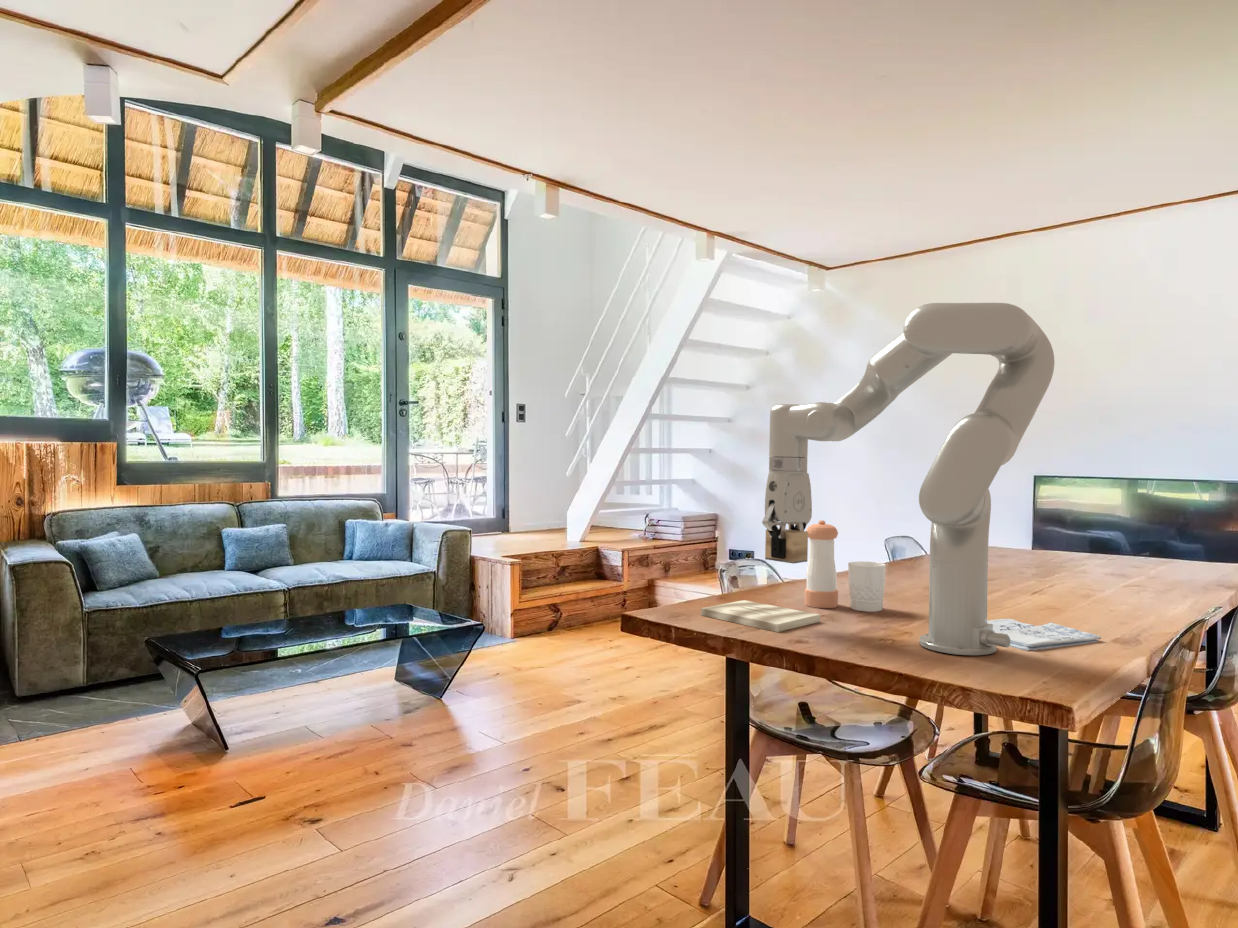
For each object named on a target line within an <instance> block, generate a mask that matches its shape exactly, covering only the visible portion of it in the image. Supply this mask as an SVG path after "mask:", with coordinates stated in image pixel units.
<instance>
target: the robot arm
mask: <svg viewBox="0 0 1238 928" xmlns="http://www.w3.org/2000/svg"><path fill="white" fill-rule="evenodd" d="M952 354H958V355H959V354H962V355H963V354H964V355H965V354H967V355H968V354H969V355H988V356H989V355H991V356H992V357H994V358H996V359H997V361H998V369H997V371H996V374H995V375H994V377H993V379H992V380H991V382H990V384H989V385H988V387H987V389H986V391H985V394H984V395H983V397H982V399H981V401H980V402H979V405H978V406H977V408H976V410H975V411H974V413H970V414H968V415H965V416H964V417H962V418H961V419H960V420H958V421H957V422H956V423H955V424H954V426H953V427H952V429H951V430H950V431H949V433H948V434H947V436H946V438H945V440H944V442H943V444H942V445H941V446H940V449H939V451H938V454H937V455H936V456H935V459H934V461H933V463H932V465H931V467H930V469H929V470H928V471H927V474H926V476H925V478H924V480H923V481H922V484H921V486H920V489H919V493H918V504H919V508H920V510H921V512H922V514H923V515H924V517H925V518H926V519H927V520H929V521H930V522H931V524H930V525H931V527H930V539H929V564H928V565H929V566H928V567H929V572H928V573H929V574H928V575H929V576H928V578H929V580H928V582H929V583H928V584H929V585H928V586H929V587H928V588H929V589H928V633H925V634H922V635H920V636H919V638H918V639H919V644H920V645H921V646H922V647H923V648H925V649H928V650H931V651H935V652H939V653H944V654H949V655H950V654H951V655H958V656H959V655H960V656H987V655H991V654H994V653H996V652H997V649H998V648H997V647H1002V648H1007V649H1008V648H1009V647H1010V637H1009V636H1008V635H1007V634H1002V633H995V632H994V631H993V624H988V623H987V620H988V587H989V586H988V585H989V584H988V581H989V580H988V574H989V573H988V572H989V537H990V523H991V510H992V499H991V498H992V497H991V493H990V489H989V488H990V486H991V484H992V483H993V481H994V479H995V477H996V475H997V473H998V472H999V470H1000V469H1001V467H1002V466H1004V465H1006V464H1007V463H1009V462H1010V461H1011V460H1012V458H1013V457H1014V455H1015V453H1016V452H1017V450H1018V449H1017V448H1018V447H1019V445H1020V443H1021V440H1022V439H1023V436H1024V435H1025V434H1026V431H1027V429H1028V427H1029V426H1030V424H1031V423H1032V422H1031V421H1032V420H1033V418H1034V417H1035V414H1036V412H1037V409H1038V408H1039V406H1040V404H1041V401H1043V398H1044V396H1045V394H1046V392H1047V391H1048V388H1049V386H1050V384H1051V381H1052V379H1053V375H1054V372H1055V371H1054V369H1055V354H1054V349H1053V346H1052V344H1051V341H1050V340H1049V338H1048V336H1047V335H1046V334H1045V331H1043V329H1042V328H1041V327H1040V325H1039V324H1038V323H1037V322H1036V321H1035V320H1034V319H1033V318H1032V317H1031V316H1030V315H1029V313H1027V312H1026V311H1025V310H1024V309H1022V308H1021V307H1019V306H1017V305H1014V304H1011V303H1006V302H933V303H930V302H929V303H925V304H923V305H920V306H918V307H916V308H914V310H912V312H910V313H909V315H908V316H907V317H906V318H905V321H904V325H903V332H902V333H900V334H898V336H897V337H895V338H894V339H893V340H891V341H890V342H889V343H888V344H886V345H885V346H884V347H883V348H882V349H880V350H879V351H878V352H876V353H875V354H874V355H872V356H871V358H870V359H869V360H868V362H867V365H866V369H865V372H864V375H863V376H862V378H861V379H860V381H859V382H858V383H857V384H856V385H855V386H854V387H853V388H852V389H851V390H850V391H848V392H847V393H846V394H845V395H843V396H842V397H840V398H839V399H838V400H837V401H836V402H834V403H832V402H825V401H824V402H823V401H822V402H821V401H820V402H812V403H807V404H796V403H795V404H794V403H793V404H792V403H791V404H790V403H789V404H787V403H786V404H785V403H784V404H783V403H781V404H776V405H773V406H771V407H772V408H771V409H770V412H769V443H768V444H769V445H768V446H769V448H768V451H769V453H768V456H769V457H768V458H769V459H768V460H769V461H768V474H767V479H766V485H765V486H766V487H765V495H764V496H765V497H764V498H765V499H764V517H763V520H762V521H761V523H762V525H763V526H764V527H765V528H766V530H768V532H769V536H770V537H771V557H773V558H780V559H785V558H786V539H784V533H785V529H786V528H787V526H786V525H788V529H789V530H798V531H806V530H805V529H807V528H806V527H807V525H808V524H809V522H811V519H812V517H813V516H812V515H813V504H812V502H813V499H812V489H811V488H812V487H811V486H812V485H811V479H810V474H809V473H808V456H809V455H808V452H809V450H808V449H809V447H808V446H809V440H811V441H815V442H841V441H845V440H846V439H848V438H850V437H851V436H853V435H855V434H856V433H858V431H860V430H861V429H862V428H864V427H865V426H867V425H868V424H869V423H870V422H872V421H874V419H876V418H877V417H878V416H879V415H880V414H881V413H882V412H884V410H885V409H887V407H889V406H890V404H891V403H893V402H894V401H895V400H896V399H897V397H898V396H899V395H900V394H901V393H902V392H904V391H905V390H907V388H909V387H910V386H911V385H913V384H915V382H917V381H919V379H921V378H922V377H923V376H925V375H926V374H928V373H929V372H930V371H931V370H932V369H934V368H936V367H937V366H938V365H940V364H941V363H942V362H943V361H945V360H946V359H948V358H949V357H950V356H951V355H952ZM778 526H779V527H778Z"/></svg>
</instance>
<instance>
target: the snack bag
mask: <svg viewBox="0 0 1238 928" xmlns="http://www.w3.org/2000/svg"><path fill="white" fill-rule="evenodd" d="M987 623H988V624H993V631H994V632H995V633H1002V634H1007V635H1008V636H1009V637H1010V646H1009V647H1010V648H1014V649H1017V650H1020V649H1022V650H1021V651H1024V650H1026V652H1030V651H1029V650H1033V651H1039V650H1038V649H1041V650H1048V649H1054V648H1061V647H1070V646H1076V645H1077V646H1078V645H1085V644H1091V643H1098V642H1099V640H1101V639H1102V637H1101V635H1097V634H1094V633H1091V632H1087V631H1082V630H1079V629H1076V628H1072V627H1068V626H1065V625H1061V624H1058V623H1054V622H1048V623H1044V624H1042V625H1035V624H1032V623H1027V622H1026V623H1025V622H1020V621H1018V620H1016V619H1013V618H998V619H997V618H996V619H991V620H988V619H987Z"/></svg>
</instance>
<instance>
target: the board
mask: <svg viewBox="0 0 1238 928" xmlns="http://www.w3.org/2000/svg"><path fill="white" fill-rule="evenodd" d="M700 616H703V617H707V618H712V619H716V620H720V621H726V622H730V623H736V624H739V625H743V626H749V627H752V628H757V629H762V630H766V631H771V632H776V633H779V632H780V633H781V632H785V631H787V630H793V629H796V628H801V627H806V626H808V625H812V624H816V623H820V622H821V614H820V613H814V612H809V611H805V610H804V611H803V610H797V609H793V608H787V607H782V606H776V605H774V604H773V605H771V604H767V603H761V602H758V601H757V602H755V601H752V600H745V599H743V600H737V601H732V602H726V603H721V604H716V605H710V606H706V607H701V608H700Z"/></svg>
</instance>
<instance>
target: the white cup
mask: <svg viewBox="0 0 1238 928" xmlns="http://www.w3.org/2000/svg"><path fill="white" fill-rule="evenodd" d="M886 566H887V565H886V564H885V563H882V562H878V561H849V562H848V563H847V567H848V569H847V570H848V571H847V573H848V588H849V601H850V602H849V605H850V607H849V608H850V609H852V610H853V611H859V612H865V613H866V612H867V613H872V612H873V613H874V612H881V611H882V610H884V609H883V608H884V597H885V596H884V594H885V580H886Z"/></svg>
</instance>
